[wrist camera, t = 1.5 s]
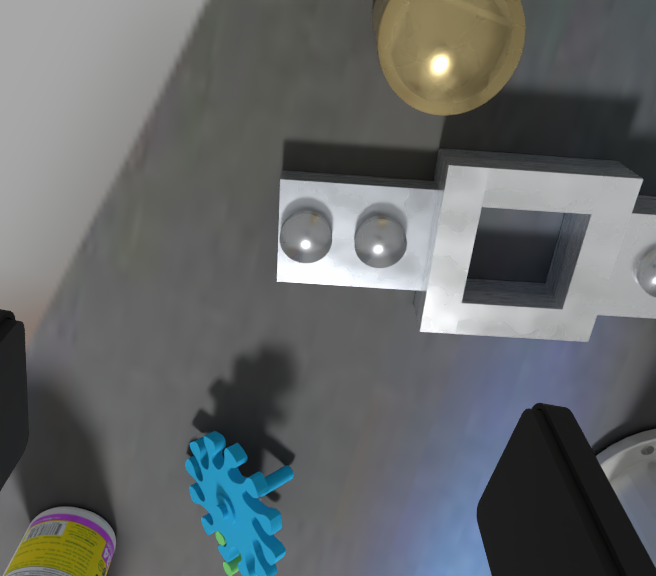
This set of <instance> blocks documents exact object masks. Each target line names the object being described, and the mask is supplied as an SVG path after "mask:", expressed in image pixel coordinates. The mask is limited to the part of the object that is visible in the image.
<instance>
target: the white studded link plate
mask: <svg viewBox="0 0 656 576" xmlns="http://www.w3.org/2000/svg"><path fill="white" fill-rule="evenodd" d="M642 182H643V178H641V177H640V176H638V175H637V174H636V173H634V172H633V171H631V170H630V169H628V168H627V167H626V166H624V165H623V164H621V163H620V162H618V161H613V160H599V159H585V158H571V157H557V156H543V155H529V154H515V153H501V152H487V151H473V150H459V149H445V148H439V150H438V156H437V162H436V168H435V175H434V181H429V180H415V179H400V178H386V177H371V176H357V175H343V174H328V173H314V172H300V171H285V170H282V174H281V179H280V205H279V235H278V265H277V281H278V282H294V283H310V284H325V285H341V286H357V287H372V288H388V289H404V290H416V291H415V297H414V303H413V305H414V309H415V313H416V317H417V322H418V326H419V330H420V332H436V333H452V334H468V335H485V336H501V337H517V338H533V339H550V340H566V341H582V342H588V340H589V337H590V335H591V332H592V329H593V326H594V323H595V320H596V317H597V315H608V316H624V317H639V318H655V319H656V196H644V195H638V194H639V191H640V188H641V185H642ZM481 207H491V208H505V209H520V210H535V211H549V212H564V213H565V215H564V218H563V222H562V225H561V229H560V233H559V236H558V240H557V243H556V247H555V250H554V254H553V257H552V261H551V264H550V268H549V272H548V275H547V279H546V282H545V283H530V282H515V281H499V280H484V279H468V278H467V275H468V270H469V265H470V260H471V255H472V251H473V246H474V241H475V236H476V231H477V227H478V222H479V217H480V212H481Z"/></svg>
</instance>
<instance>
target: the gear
mask: <svg viewBox="0 0 656 576" xmlns="http://www.w3.org/2000/svg"><path fill="white" fill-rule="evenodd" d="M225 447H226V441H225V438H224V437H223V435H221V434H220V433H218V432H216V431H213V432H211V433H209V434H207V435H205V436H204V437H201V438H199V439H197V440H195V441H193V442H191V443H190V448H191V450H192V452H193V454H194V456H192V457H190V458H188V459H187V461H186V465H185V467H186V469H187V471H188V473H189V474H190V475H191V476H192V477H193V478H194V479H195V480H196V481H197V483H195V484H193V485H191V486H190V495H191V499H192V500H193V502H194V503H196V504H200V505H202V506H203V507H204V508H205V509H206V510H207V511H208V512H209V513H208V514H207V515H205V516H203V517H202V518H201V522H202V525H203V527H204V529H205V532H206V533H207V534H208V535H210V534H212V533H213V532H215V531H217V532H216V538H217V540H218V542H219V543H220V545H219V546H218V550H219V552H220V553H221V555H222V557H223V558H224V560H225V561H224V562H223V567H224V570H225V572H226V573H227V574H228V575H229V576H232V575H233V574H234V573H236V572H237V571H240V573H241V574H242V575H243V576H256V575H257V576H273V575H275V574H276V573H278V571H277V567H276V565H275V563H276V562H277V561H279V560H280V559H282V558H283V557H284V555H285V553H286V549H285V547H284V546H283V544H282V543H281V542H280V541H279V540H278V539H277V538H276V537H275V536H274V535H273V534H274V533H276V532H277V531H279V530H280V529H282V518H281V514H280V512H279V511H278V510H277V509H275V508H270V507H267V506H266V505H264V504H263V503H262V502H261V497H263V496H264V495H266V494H268V493H269V492H271V491H273V490H274V489H276V488H278V487H279V486H281V485H283V484H284V483H286V482H287V481H289V480H291V479H292V478H293V477H294V474H293V471H292V469H291V468H290V467H289V466H288V465H285V466H284V467H282V468H280V469H279V470H277V471H275V472H273V473H272V474H270V475H268V476H266V477H265V478H264V476H263V473H261V472H257V473H255V474H253V475H251V476H250V477H244V476H243V475H242V474H241V473H240V471H239V469H238V466H240V465H241V464H243V463H245V462H246V461H247V455H246V453H245V451H244V450H243V449H242V447H241V446H240V445H239V444H238V443H235V444H234V445H232V446H230V447H228V448H226V449H225V450H224V457H225V458H223V455H222V450H223V449H224V448H225Z"/></svg>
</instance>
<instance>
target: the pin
mask: <svg viewBox="0 0 656 576" xmlns="http://www.w3.org/2000/svg"><path fill="white" fill-rule="evenodd" d="M372 25H373V30H374V33H375V36H376V45H377V54H378V59H379V63H380V66H381V68H382V71H383V73H384V75H385V77H386V79H387V81H388V83H389V85H390V86H391V88H392V89H393V91H394V92H395V93H396V94H397V95H398V96H399V97H400V98H401V99H402V100H403V101H405V102H406V103H407V104H409V105H410V106H412V107H413V108H415V109H418V110H420V111H422V112H426V113H429V114H435V115H454V114H460V113H464V112H467V111H470V110H472V109H475V108H477V107H479V106H481V105H482V104H484V103H486V102H487V101H488V100H490V99H491V98H492V97H494V96H495V95H496V94H497V93H498V92H499V91H500V90H501V89H502V88H503V87H504V85H505V84H506V83H507V82H508V80H509V79H510V77H511V76H512V74H513V72H514V70H515V69H516V67H517V64H518V62H519V60H520V57H521V54H522V50H523V46H524V40H525V18H524V12H523V8H522V4H521V2H520V0H375V2H374V6H373V11H372Z"/></svg>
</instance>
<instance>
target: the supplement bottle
mask: <svg viewBox="0 0 656 576" xmlns="http://www.w3.org/2000/svg"><path fill="white" fill-rule="evenodd" d="M115 547H116V537H115V534H114V531H113V529H112V528H111V526H110V525H109V524H108V523H107V522H106V521H105V520H104V519H103V518H101V517H100V516H99V515H97V514H95V513H93V512H91V511H88V510H85V509H81V508H77V507H56V508H52V509H49V510H46V511H44V512H42V513H40V514H39V515H38V516H36V517H35V518H34V519H33V521H32V522H31V523H30V525H29V527H28V529H27V531H26V533H25V534H24V536H23V538H22V540H21V542H20V544H19V546H18V548H17V549H16V551H15V553H14V555H13V557H12V559H11V561H10V563H9V565H8V567H7V568H6V570H5V572H4V574H3V576H106V574H107V571H108V569H109V566H110V563H111V560H112V557H113V554H114V551H115Z"/></svg>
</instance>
